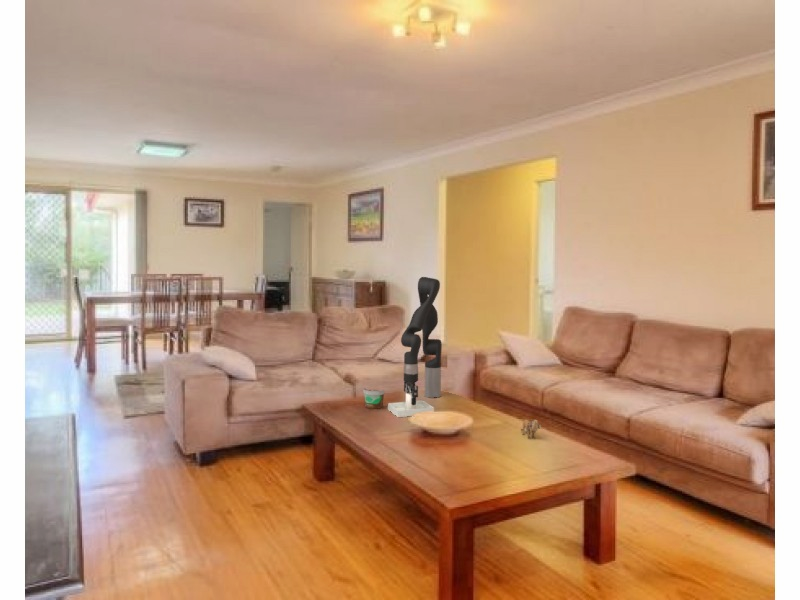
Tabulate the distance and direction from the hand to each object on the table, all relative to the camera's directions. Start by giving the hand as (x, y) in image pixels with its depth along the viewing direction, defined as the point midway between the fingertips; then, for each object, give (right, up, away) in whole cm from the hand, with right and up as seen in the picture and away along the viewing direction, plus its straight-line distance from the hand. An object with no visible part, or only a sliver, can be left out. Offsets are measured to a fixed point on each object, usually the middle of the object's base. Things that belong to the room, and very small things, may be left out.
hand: (410, 402), depth 289 cm
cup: (0, -4, 0) cm, 4 cm away
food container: (-20, -5, +7) cm, 22 cm away
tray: (0, -5, 0) cm, 5 cm away
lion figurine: (+53, -8, -38) cm, 66 cm away
